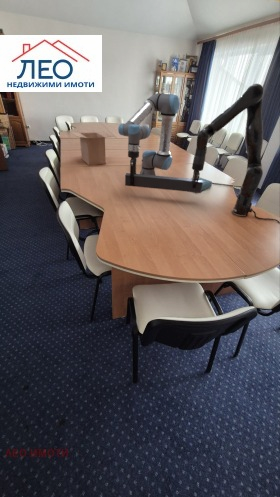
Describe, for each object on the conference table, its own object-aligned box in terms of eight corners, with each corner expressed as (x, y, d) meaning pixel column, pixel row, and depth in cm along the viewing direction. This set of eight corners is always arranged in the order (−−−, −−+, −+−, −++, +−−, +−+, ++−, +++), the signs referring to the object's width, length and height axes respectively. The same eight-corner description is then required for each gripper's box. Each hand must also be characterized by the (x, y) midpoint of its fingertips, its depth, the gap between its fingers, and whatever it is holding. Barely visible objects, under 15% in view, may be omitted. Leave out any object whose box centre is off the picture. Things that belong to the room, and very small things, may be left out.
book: (195, 181, 203) (197, 176, 200) (211, 187, 194) (212, 181, 191) (181, 187, 190) (182, 181, 187) (196, 193, 181) (197, 187, 178)
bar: (125, 185, 162) (125, 175, 157) (126, 183, 166) (126, 172, 161) (200, 192, 158) (202, 182, 154) (199, 190, 162) (202, 179, 158)
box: (116, 165, 229) (116, 136, 213) (83, 168, 214) (80, 137, 198) (102, 154, 259) (101, 128, 243) (71, 156, 244) (68, 129, 228)
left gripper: (137, 154, 142) (136, 189, 156) (140, 148, 156) (139, 180, 170) (125, 153, 142) (125, 188, 156) (130, 147, 156) (129, 179, 170)
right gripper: (205, 165, 143) (200, 190, 153) (203, 160, 154) (197, 183, 165) (194, 164, 143) (189, 189, 153) (192, 159, 155) (187, 182, 165)
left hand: (132, 184), depth 163 cm, fingers closed on bar, 5 cm apart
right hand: (193, 186), depth 159 cm, fingers closed on bar, 5 cm apart
